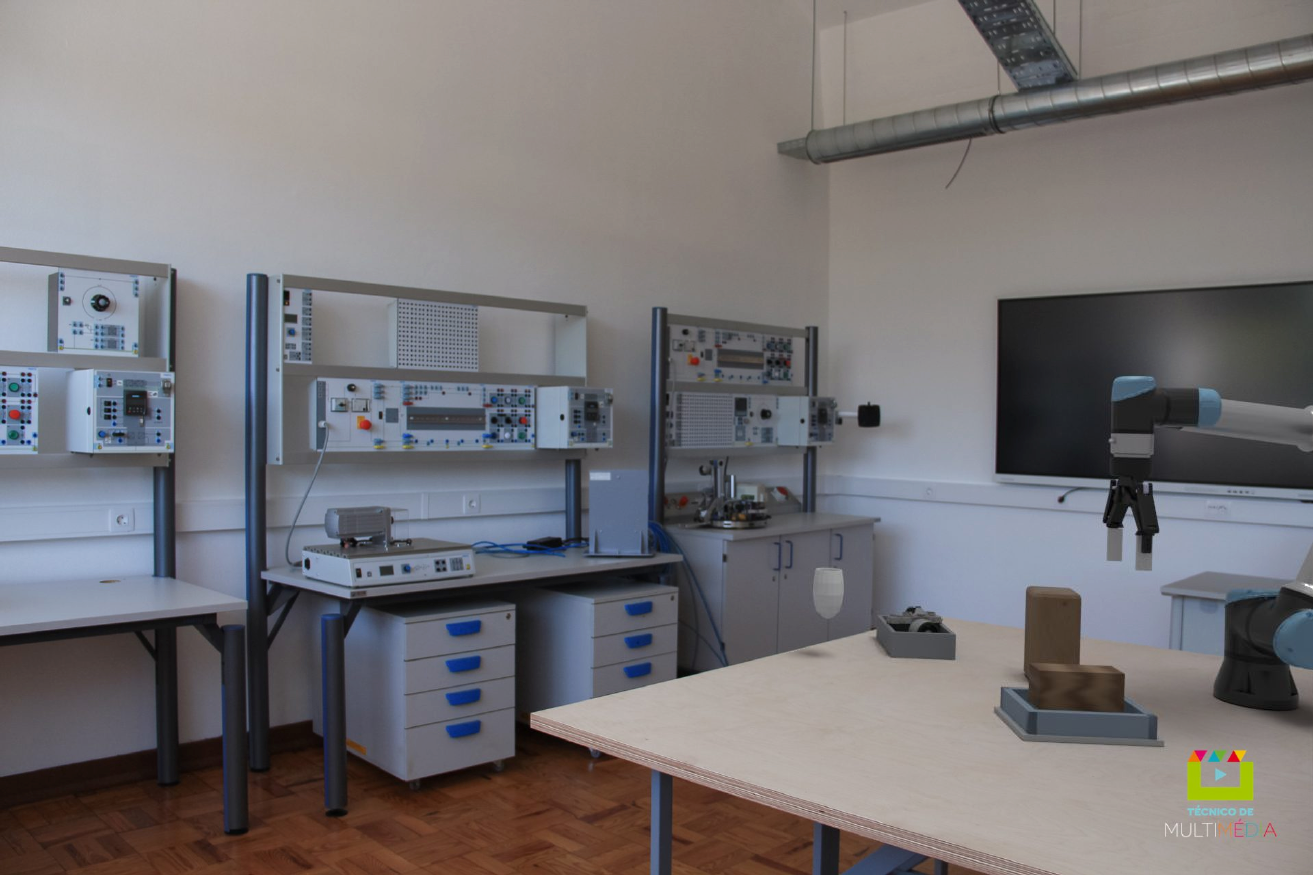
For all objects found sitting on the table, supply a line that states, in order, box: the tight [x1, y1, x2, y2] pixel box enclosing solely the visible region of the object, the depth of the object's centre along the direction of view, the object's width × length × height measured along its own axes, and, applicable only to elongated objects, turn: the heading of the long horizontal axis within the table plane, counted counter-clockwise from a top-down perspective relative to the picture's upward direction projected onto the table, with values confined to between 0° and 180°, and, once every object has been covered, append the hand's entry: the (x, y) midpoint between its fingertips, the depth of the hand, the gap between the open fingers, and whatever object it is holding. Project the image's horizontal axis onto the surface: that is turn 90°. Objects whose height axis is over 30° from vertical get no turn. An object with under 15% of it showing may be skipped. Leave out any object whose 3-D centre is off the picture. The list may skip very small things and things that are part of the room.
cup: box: [812, 567, 845, 620], centre depth 234 cm, size 7×7×21 cm
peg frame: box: [993, 686, 1165, 747], centre depth 181 cm, size 24×18×5 cm
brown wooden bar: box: [1028, 663, 1126, 713], centre depth 181 cm, size 15×6×7 cm, turn 87°
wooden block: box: [1023, 585, 1082, 680], centre depth 216 cm, size 10×10×20 cm
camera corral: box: [875, 614, 957, 661], centre depth 245 cm, size 15×22×6 cm
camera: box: [887, 605, 944, 633], centre depth 245 cm, size 16×9×10 cm, turn 106°
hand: (1128, 565), depth 191 cm, fingers open, 13 cm apart
